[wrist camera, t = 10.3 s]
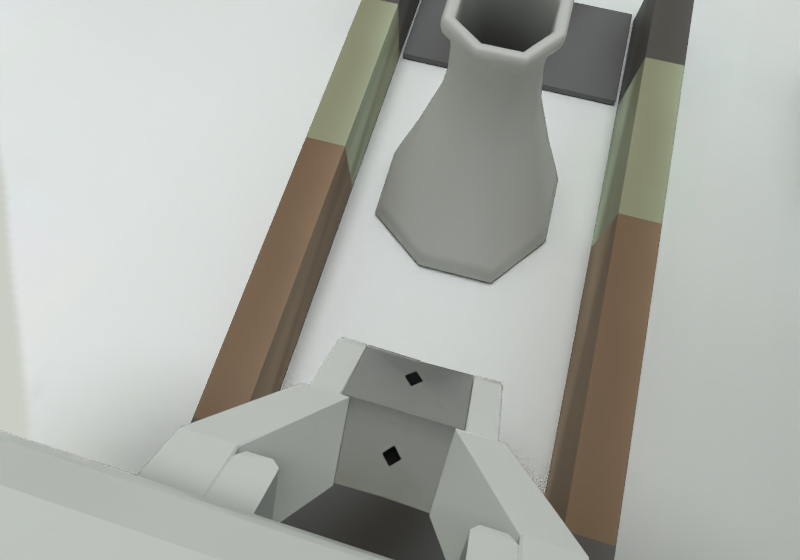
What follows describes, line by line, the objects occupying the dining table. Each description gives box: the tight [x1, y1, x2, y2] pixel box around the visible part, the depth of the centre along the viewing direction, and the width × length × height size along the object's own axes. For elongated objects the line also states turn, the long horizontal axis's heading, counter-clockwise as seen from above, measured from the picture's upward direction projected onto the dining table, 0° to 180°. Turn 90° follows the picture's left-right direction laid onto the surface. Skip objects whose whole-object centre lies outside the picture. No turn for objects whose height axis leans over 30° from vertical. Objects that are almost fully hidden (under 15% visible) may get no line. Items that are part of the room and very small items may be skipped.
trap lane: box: [191, 0, 694, 560], centre depth 21 cm, size 13×27×3 cm, turn 164°
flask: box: [375, 0, 574, 283], centre depth 18 cm, size 7×7×10 cm
